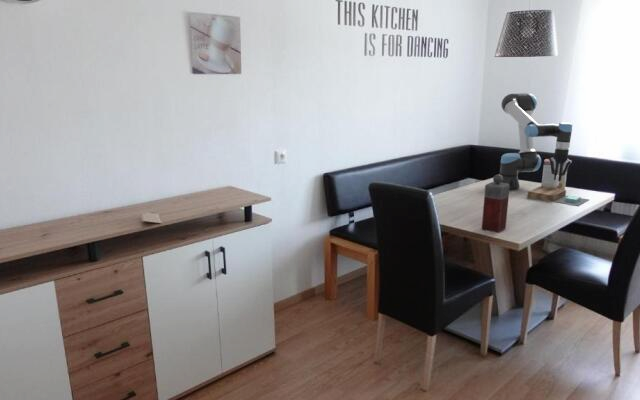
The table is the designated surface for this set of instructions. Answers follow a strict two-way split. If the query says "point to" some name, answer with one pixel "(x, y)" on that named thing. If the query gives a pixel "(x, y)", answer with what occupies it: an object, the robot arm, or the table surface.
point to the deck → (546, 193)
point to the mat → (562, 200)
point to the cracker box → (552, 176)
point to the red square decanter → (495, 205)
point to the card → (572, 199)
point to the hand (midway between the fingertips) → (556, 185)
